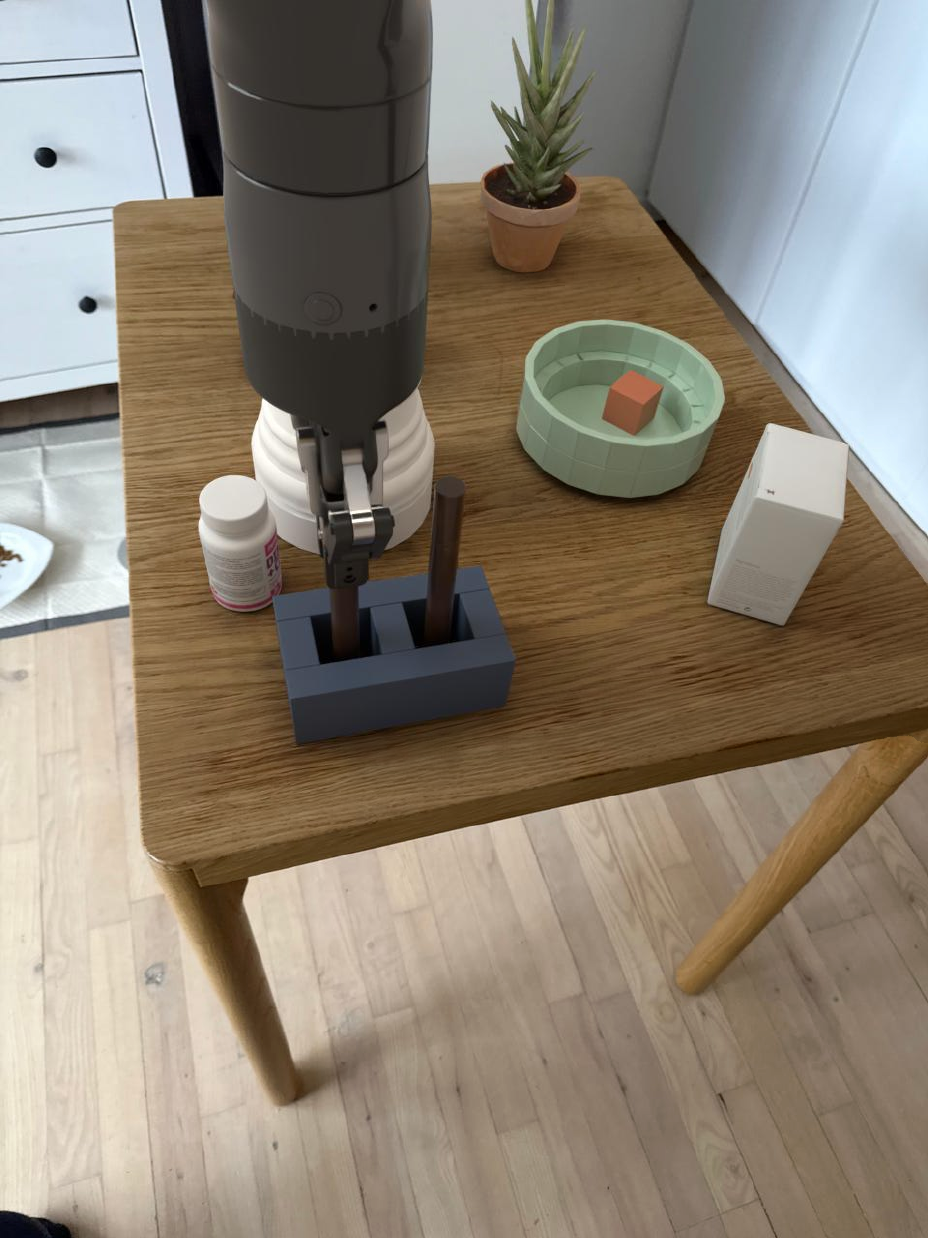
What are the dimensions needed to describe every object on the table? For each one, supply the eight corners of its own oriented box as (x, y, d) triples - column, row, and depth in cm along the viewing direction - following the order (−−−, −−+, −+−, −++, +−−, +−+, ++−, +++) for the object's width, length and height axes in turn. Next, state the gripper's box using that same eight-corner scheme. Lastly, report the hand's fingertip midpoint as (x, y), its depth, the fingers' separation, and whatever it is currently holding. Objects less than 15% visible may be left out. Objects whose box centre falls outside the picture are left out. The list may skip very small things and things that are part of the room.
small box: (782, 629, 62) (846, 523, 54) (703, 605, 63) (754, 497, 54) (793, 550, 67) (853, 442, 59) (720, 529, 68) (768, 419, 59)
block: (621, 400, 75) (630, 369, 72) (654, 417, 74) (664, 386, 71) (601, 418, 73) (609, 386, 71) (634, 436, 72) (643, 404, 70)
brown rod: (352, 668, 57) (347, 484, 44) (364, 686, 56) (362, 505, 44) (330, 678, 56) (318, 495, 44) (342, 696, 56) (333, 515, 43)
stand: (278, 644, 58) (272, 595, 54) (474, 613, 61) (481, 564, 57) (296, 744, 53) (290, 699, 49) (506, 706, 56) (516, 660, 52)
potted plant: (466, 232, 91) (491, -59, 72) (555, 230, 93) (602, -55, 74) (485, 286, 85) (517, -15, 66) (579, 283, 87) (638, -12, 68)
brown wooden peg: (437, 654, 58) (455, 471, 46) (450, 671, 57) (472, 491, 45) (416, 663, 58) (429, 481, 45) (429, 681, 57) (445, 501, 44)
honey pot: (455, 536, 65) (478, 319, 51) (280, 573, 61) (252, 351, 47) (401, 424, 72) (409, 207, 58) (242, 452, 69) (208, 227, 54)
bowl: (623, 361, 80) (639, 301, 75) (740, 466, 72) (766, 407, 68) (479, 410, 74) (486, 349, 69) (590, 530, 66) (606, 470, 62)
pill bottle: (288, 607, 60) (278, 518, 53) (216, 620, 58) (196, 530, 52) (277, 555, 62) (265, 465, 56) (207, 566, 61) (187, 475, 55)
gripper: (472, 368, 31) (441, 658, 45) (390, 177, 39) (385, 472, 53) (253, 389, 29) (290, 683, 43) (214, 185, 37) (256, 488, 51)
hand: (343, 566), depth 48 cm, fingers closed on brown rod
